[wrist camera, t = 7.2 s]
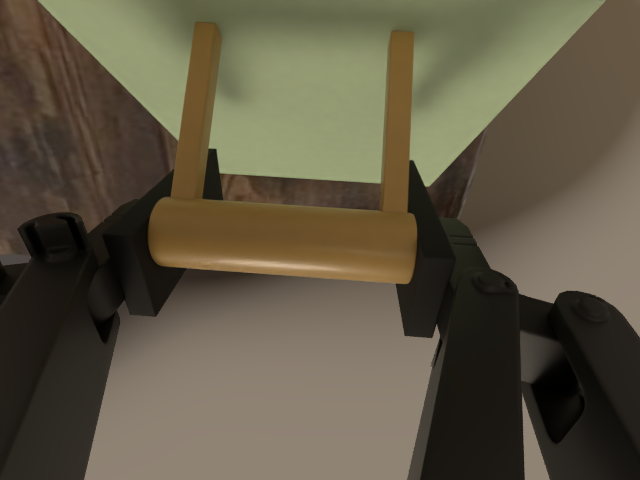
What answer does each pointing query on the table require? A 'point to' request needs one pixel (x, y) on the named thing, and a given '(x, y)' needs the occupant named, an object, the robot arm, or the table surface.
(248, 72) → the lid
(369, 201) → the table surface
